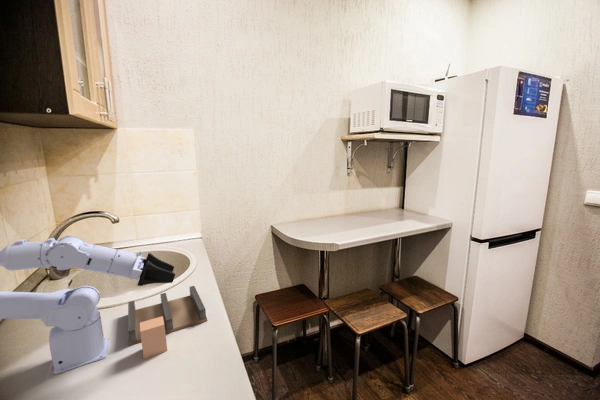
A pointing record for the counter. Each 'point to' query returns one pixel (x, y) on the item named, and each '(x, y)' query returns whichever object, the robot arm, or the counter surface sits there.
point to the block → (153, 337)
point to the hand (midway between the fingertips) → (173, 274)
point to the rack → (167, 314)
